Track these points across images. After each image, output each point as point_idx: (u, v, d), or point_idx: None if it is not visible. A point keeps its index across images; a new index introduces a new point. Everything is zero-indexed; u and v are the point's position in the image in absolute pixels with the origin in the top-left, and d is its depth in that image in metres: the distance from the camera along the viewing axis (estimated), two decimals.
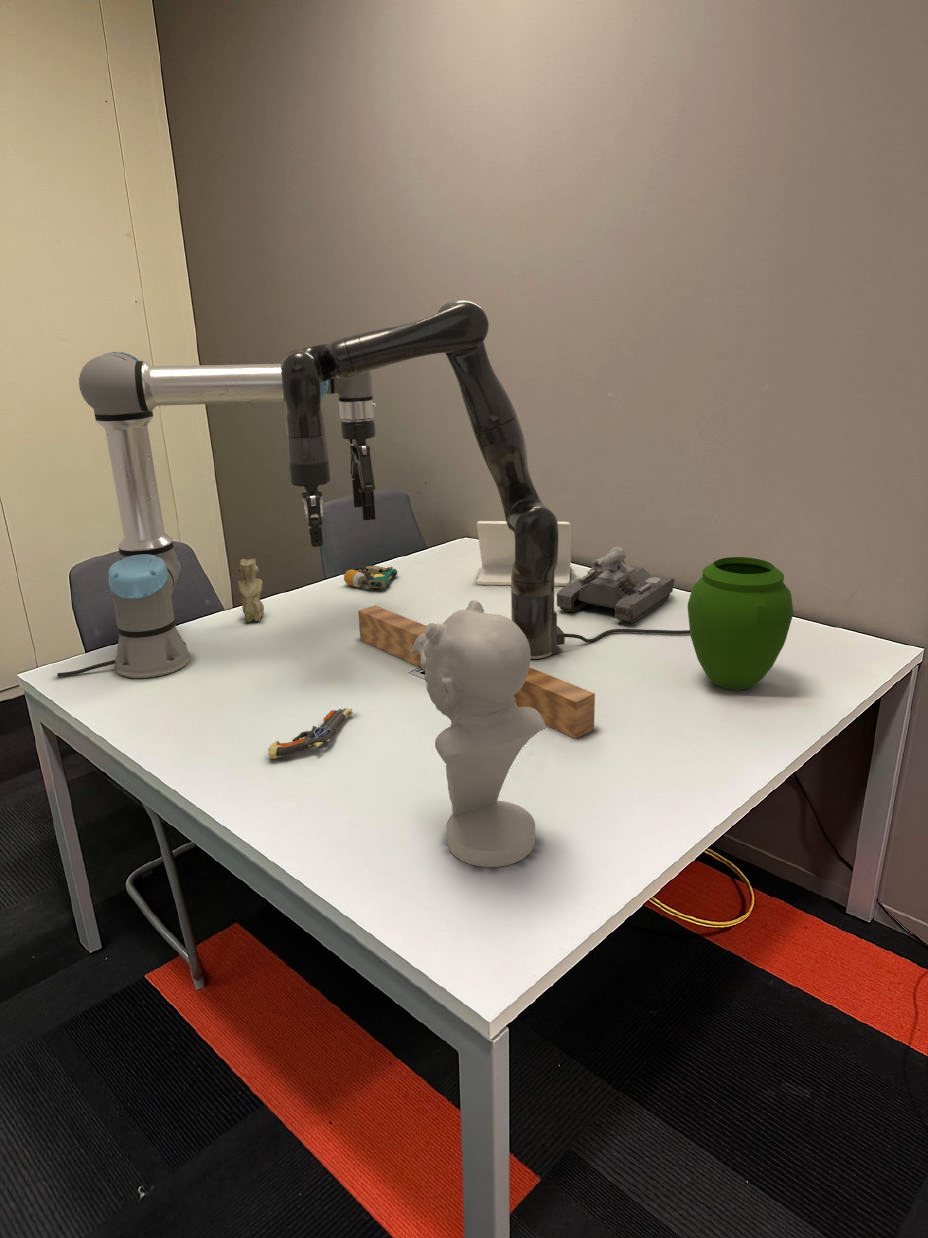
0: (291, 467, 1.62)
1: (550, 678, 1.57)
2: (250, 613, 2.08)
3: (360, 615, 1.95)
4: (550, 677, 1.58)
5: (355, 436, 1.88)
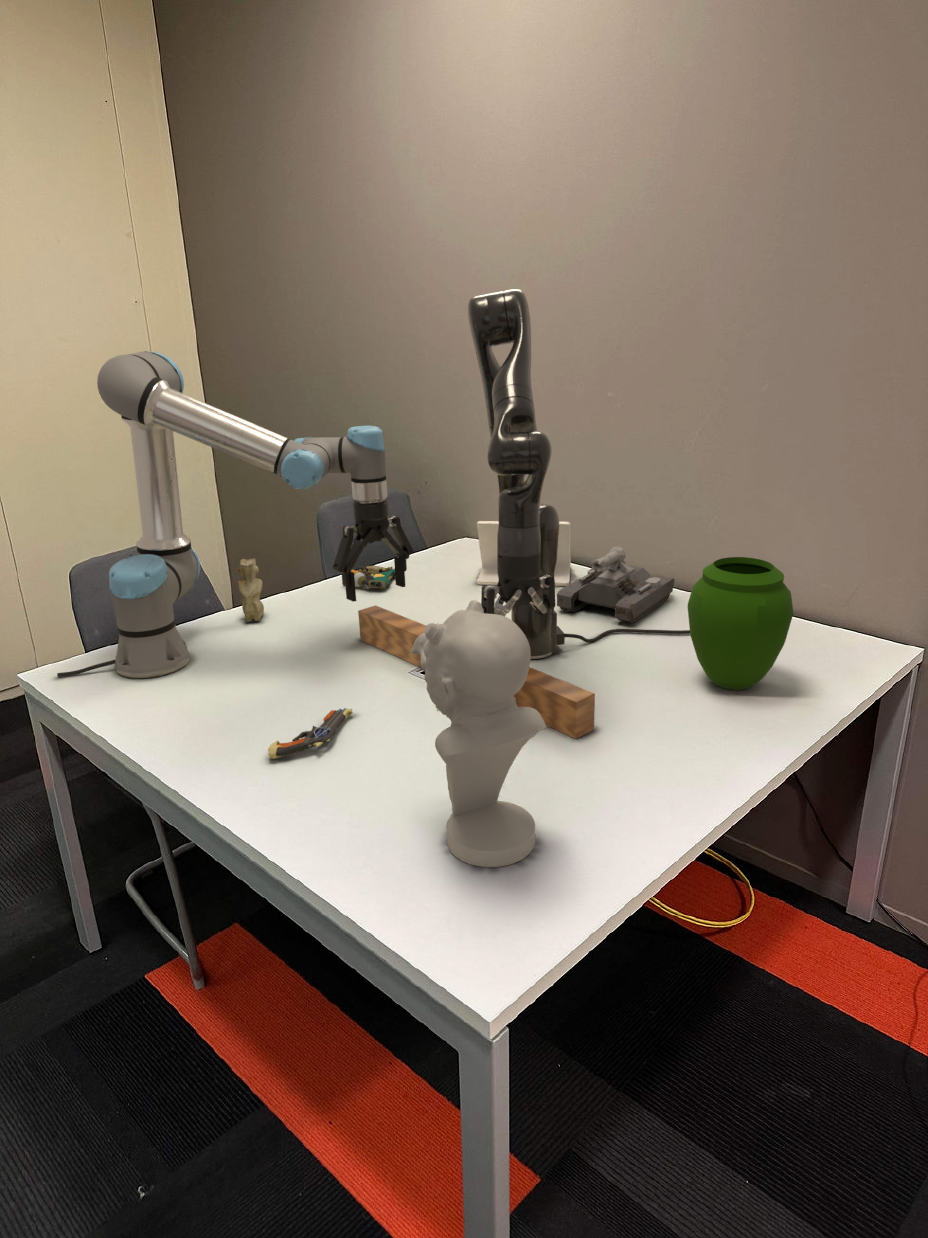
0: (537, 558, 1.46)
1: (550, 678, 1.57)
2: (250, 613, 2.08)
3: (360, 615, 1.95)
4: (550, 677, 1.58)
5: None
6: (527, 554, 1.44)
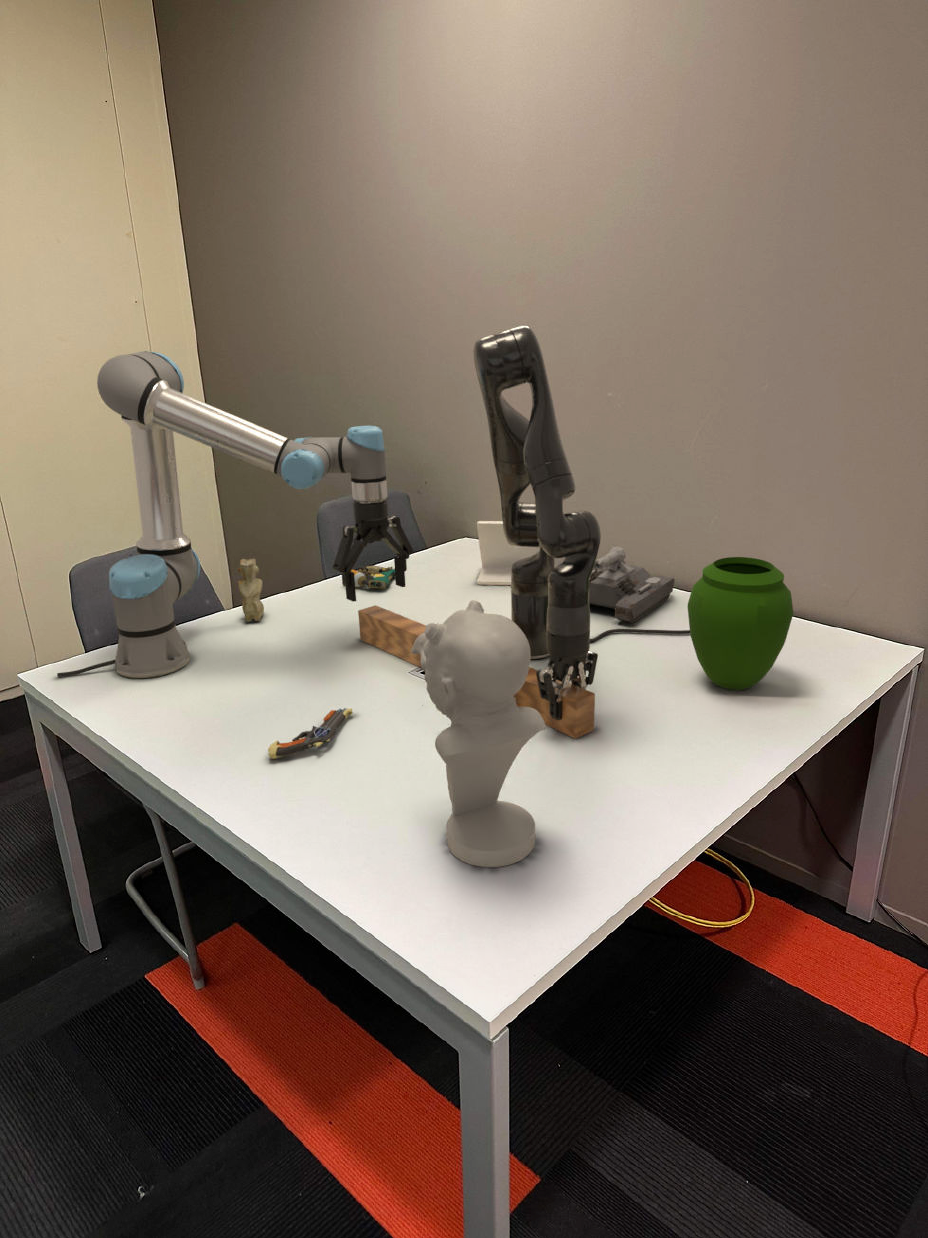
0: (589, 634, 1.47)
1: None
2: (250, 613, 2.08)
3: (360, 615, 1.95)
4: None
5: None
6: (581, 632, 1.45)
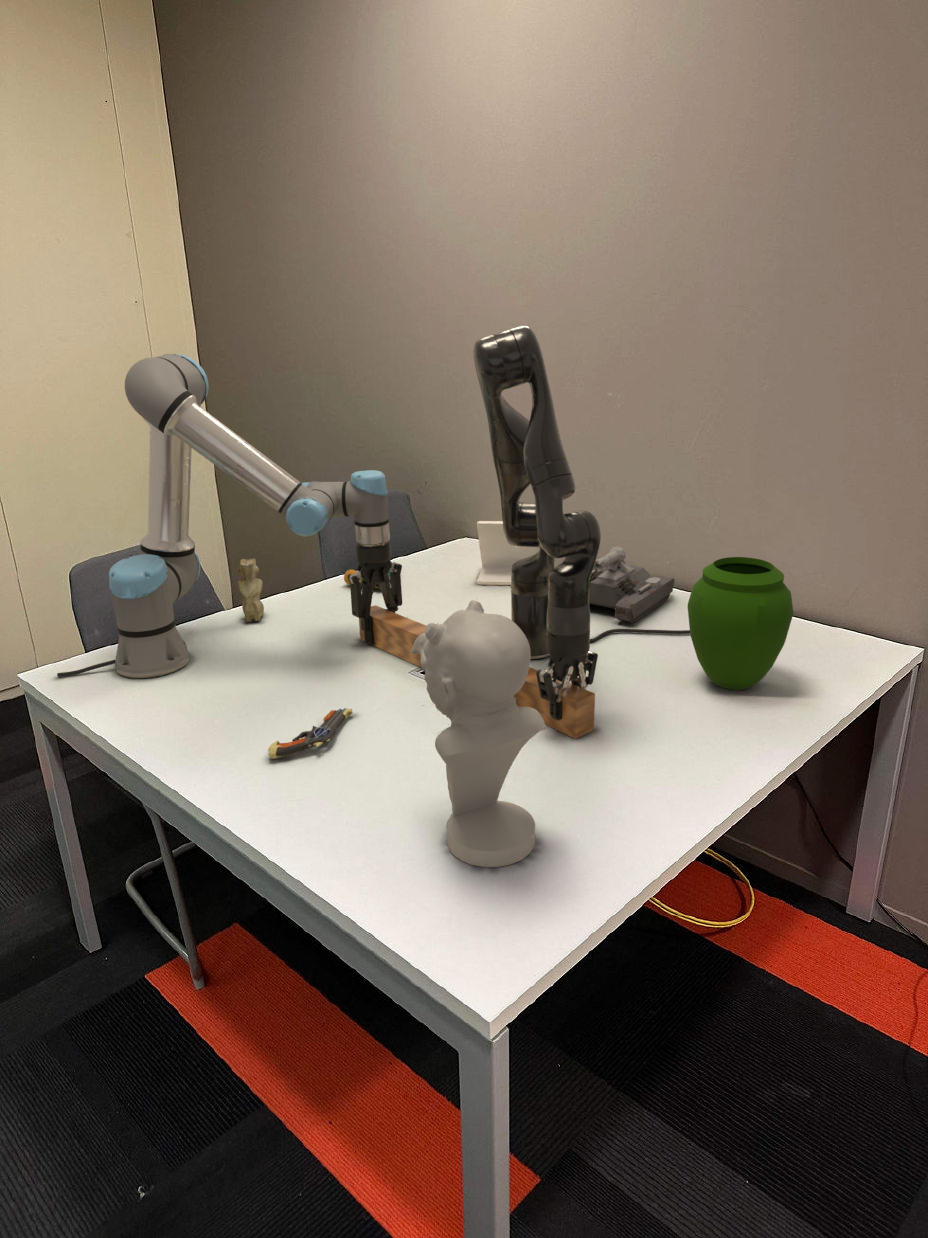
0: (589, 634, 1.47)
1: None
2: (250, 613, 2.08)
3: None
4: None
5: None
6: (581, 632, 1.45)
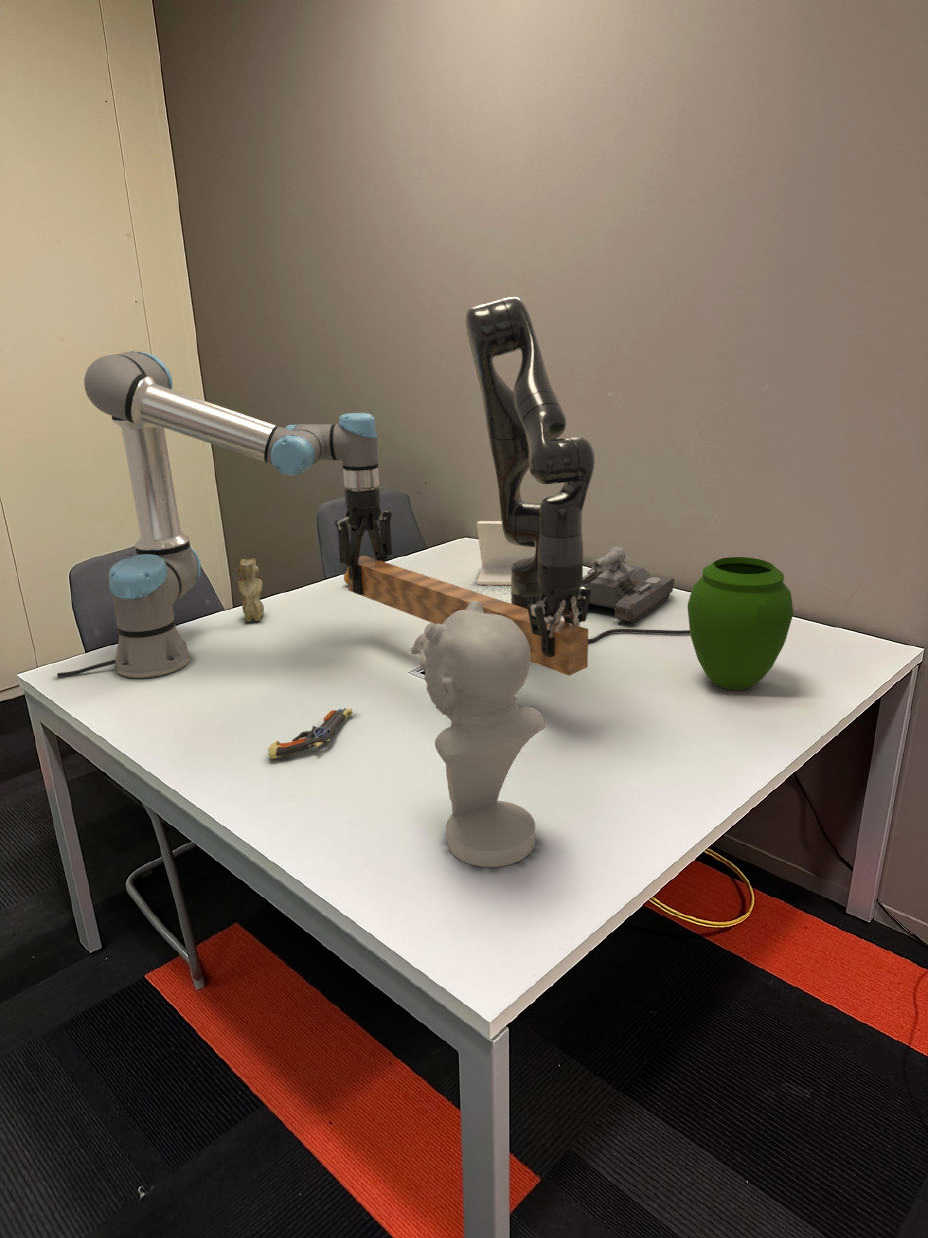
0: (581, 566, 1.43)
1: None
2: (250, 613, 2.08)
3: None
4: None
5: None
6: (574, 563, 1.41)
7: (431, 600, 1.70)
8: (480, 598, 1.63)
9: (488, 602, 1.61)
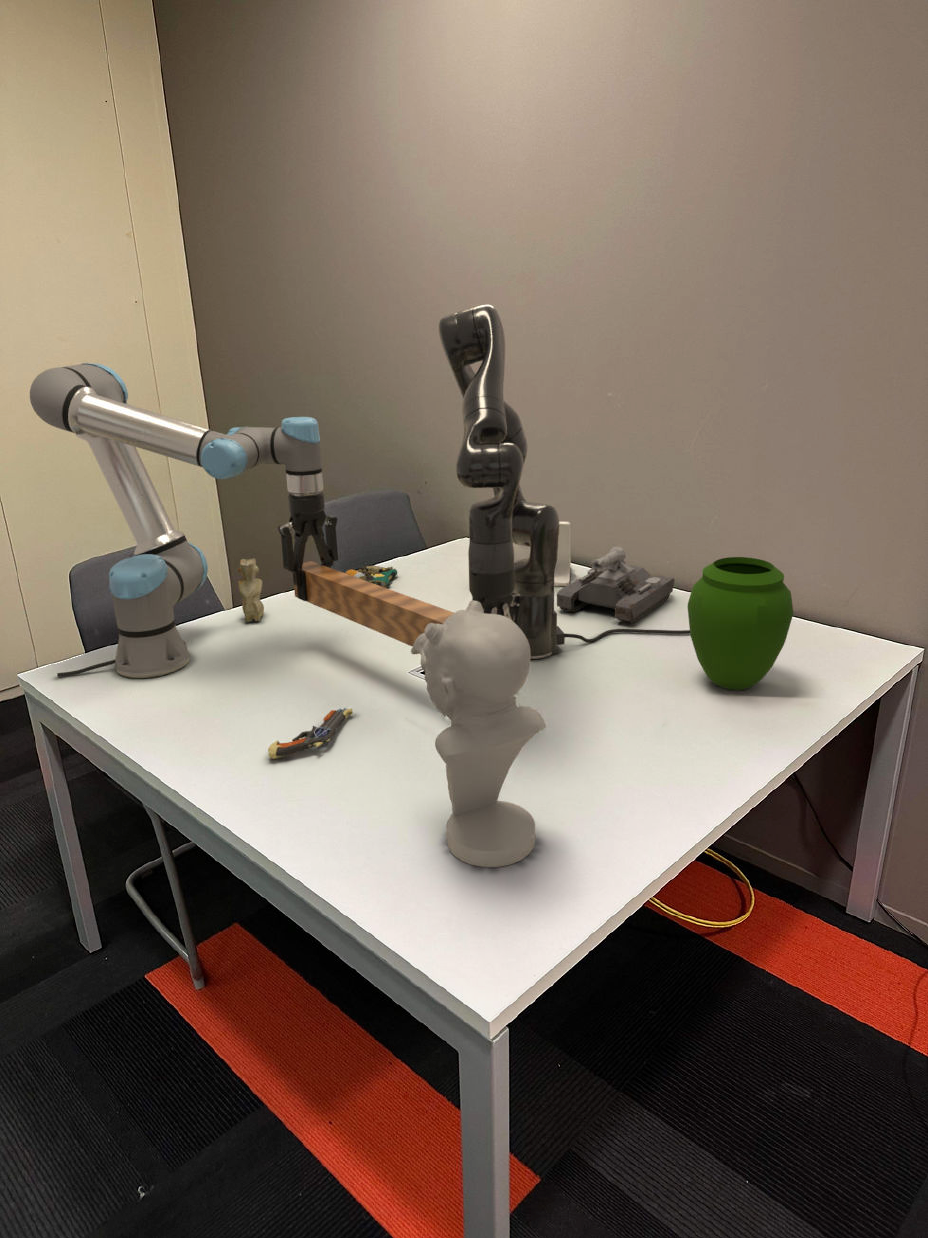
0: (512, 573, 1.40)
1: None
2: (250, 613, 2.08)
3: None
4: None
5: None
6: (503, 570, 1.38)
7: (371, 607, 1.68)
8: (418, 604, 1.61)
9: (425, 609, 1.58)
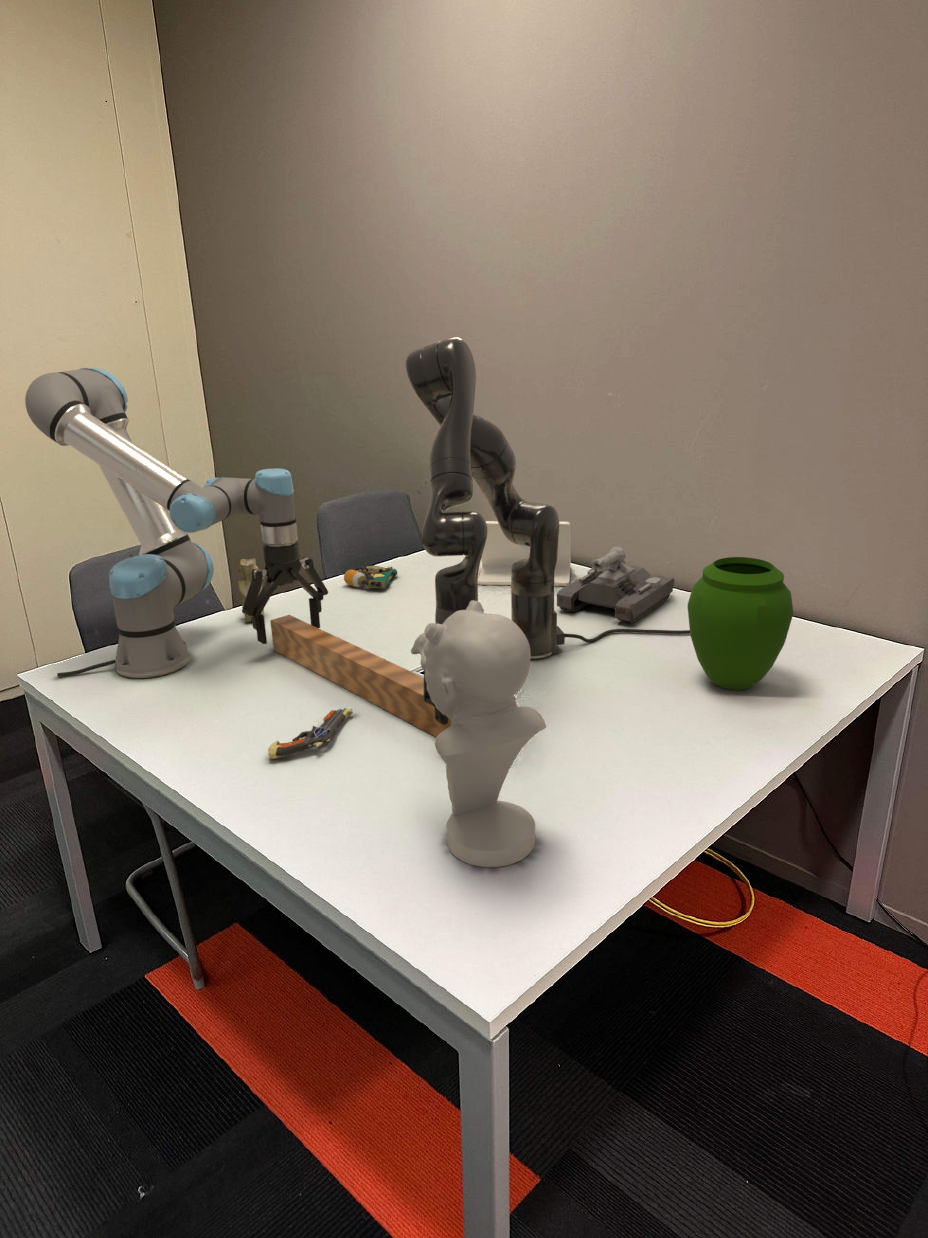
0: None
1: None
2: None
3: (272, 625, 1.90)
4: None
5: None
6: None
7: (345, 668, 1.71)
8: (390, 668, 1.64)
9: (397, 674, 1.61)
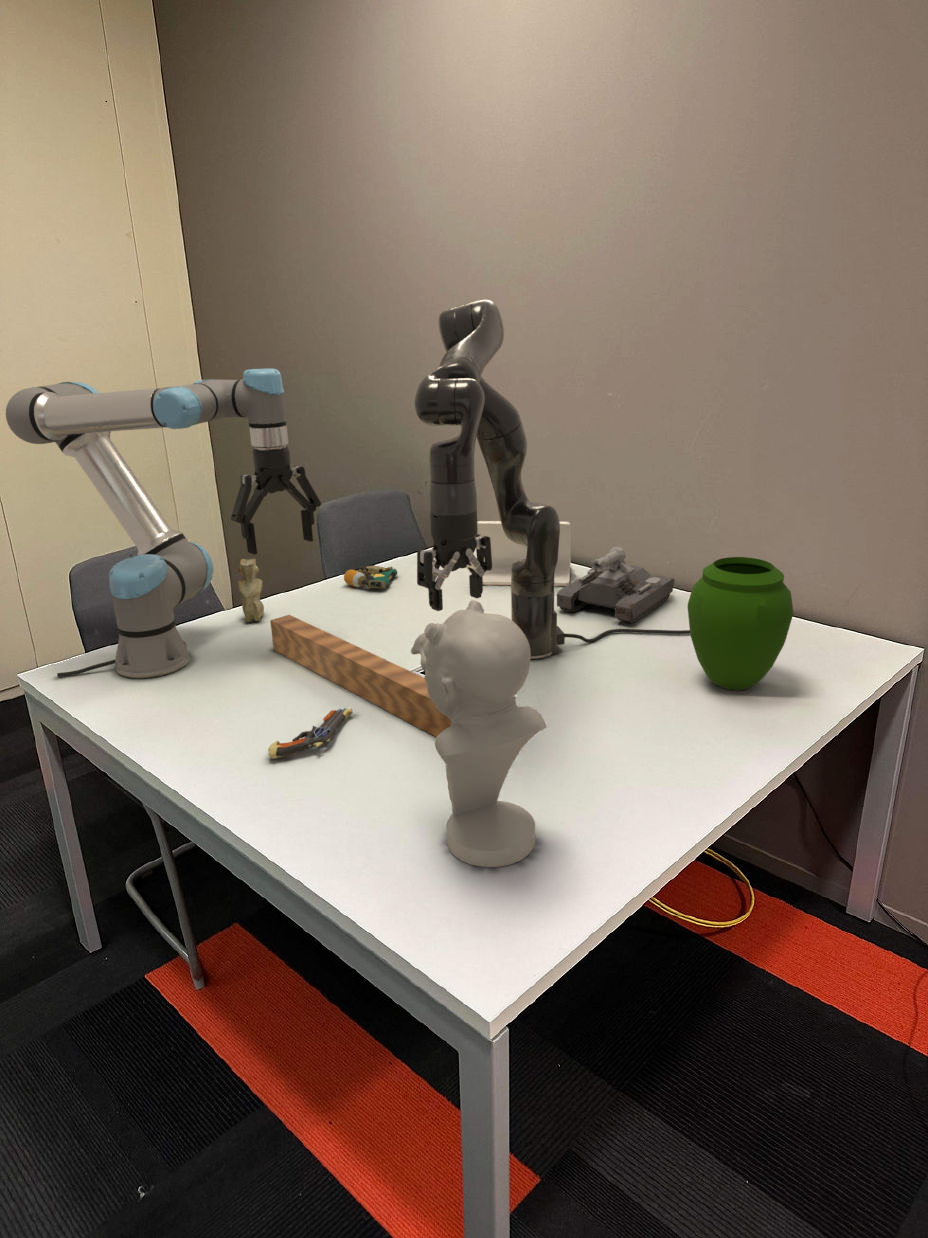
0: (475, 516, 1.35)
1: None
2: (250, 613, 2.08)
3: (272, 625, 1.90)
4: None
5: None
6: (465, 512, 1.33)
7: (345, 668, 1.71)
8: (390, 668, 1.64)
9: (397, 674, 1.61)
